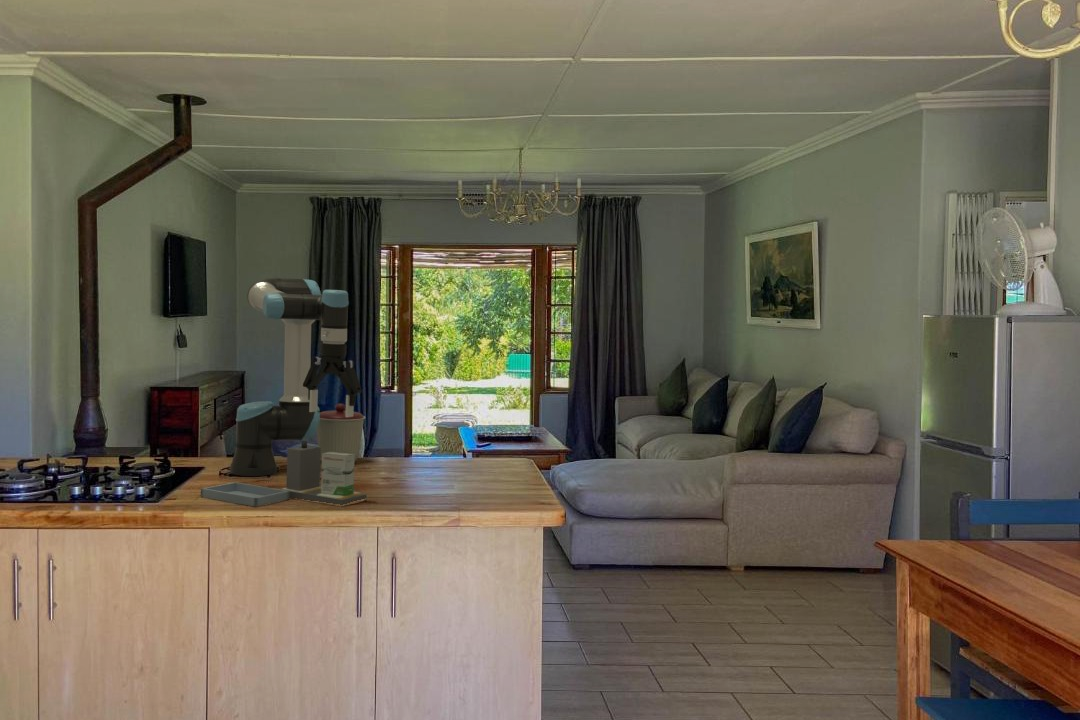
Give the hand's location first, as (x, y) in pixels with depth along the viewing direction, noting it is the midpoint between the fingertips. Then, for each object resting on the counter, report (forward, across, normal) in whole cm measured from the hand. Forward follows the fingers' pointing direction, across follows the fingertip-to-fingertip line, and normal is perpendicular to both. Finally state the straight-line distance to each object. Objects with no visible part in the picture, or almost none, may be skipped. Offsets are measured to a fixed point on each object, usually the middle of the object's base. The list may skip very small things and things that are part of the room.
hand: (331, 414), depth 304 cm
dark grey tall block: (+23, -8, -2) cm, 24 cm away
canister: (+27, -38, +51) cm, 69 cm away
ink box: (+23, +5, -2) cm, 24 cm away
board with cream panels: (+25, 0, -2) cm, 25 cm away
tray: (+25, -17, -16) cm, 35 cm away
